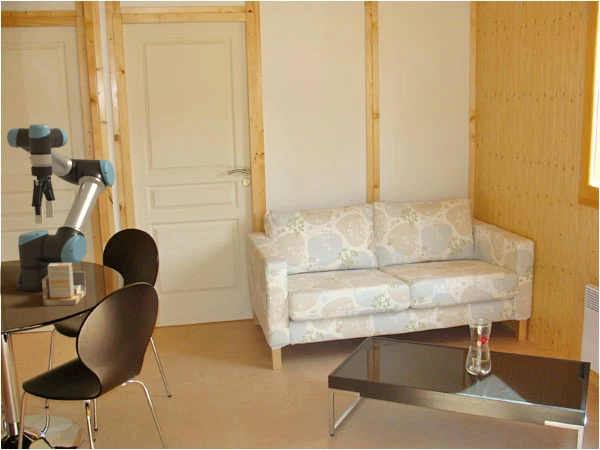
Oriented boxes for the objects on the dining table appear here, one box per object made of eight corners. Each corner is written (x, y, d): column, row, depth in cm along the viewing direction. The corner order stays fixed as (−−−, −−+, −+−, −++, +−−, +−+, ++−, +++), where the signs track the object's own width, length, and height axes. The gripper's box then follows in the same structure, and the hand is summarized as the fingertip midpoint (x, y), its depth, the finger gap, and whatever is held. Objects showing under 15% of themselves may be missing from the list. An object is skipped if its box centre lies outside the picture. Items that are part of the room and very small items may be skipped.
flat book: (61, 289, 278) (61, 284, 278) (81, 289, 279) (80, 284, 278) (56, 294, 272) (56, 288, 272) (77, 293, 273) (76, 288, 272)
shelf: (55, 293, 280) (54, 269, 278) (86, 293, 281) (84, 269, 279) (43, 305, 264) (41, 279, 263) (75, 304, 265) (74, 279, 263)
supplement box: (74, 295, 271) (72, 262, 269) (71, 298, 266) (69, 265, 264) (53, 295, 271) (51, 262, 268) (49, 298, 266) (47, 265, 263)
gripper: (41, 162, 278) (44, 215, 282) (20, 168, 253) (24, 226, 257) (60, 162, 278) (63, 214, 282) (41, 168, 254) (44, 226, 258)
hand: (44, 220), depth 270 cm, fingers open, 13 cm apart
